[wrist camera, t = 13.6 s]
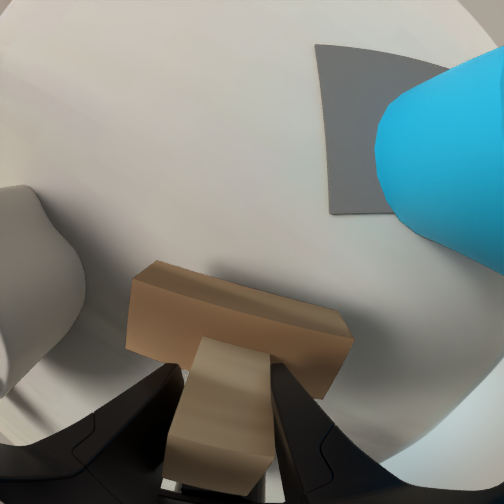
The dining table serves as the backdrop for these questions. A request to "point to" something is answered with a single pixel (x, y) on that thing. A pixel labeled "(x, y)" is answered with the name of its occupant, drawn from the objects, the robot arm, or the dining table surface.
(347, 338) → the wooden t-shaped block
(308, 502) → the robot arm
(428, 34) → the dining table surface
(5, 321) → the lumpy-topped squat cylinder
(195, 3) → the dining table surface
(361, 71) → the charcoal mat
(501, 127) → the mug
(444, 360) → the dining table surface
